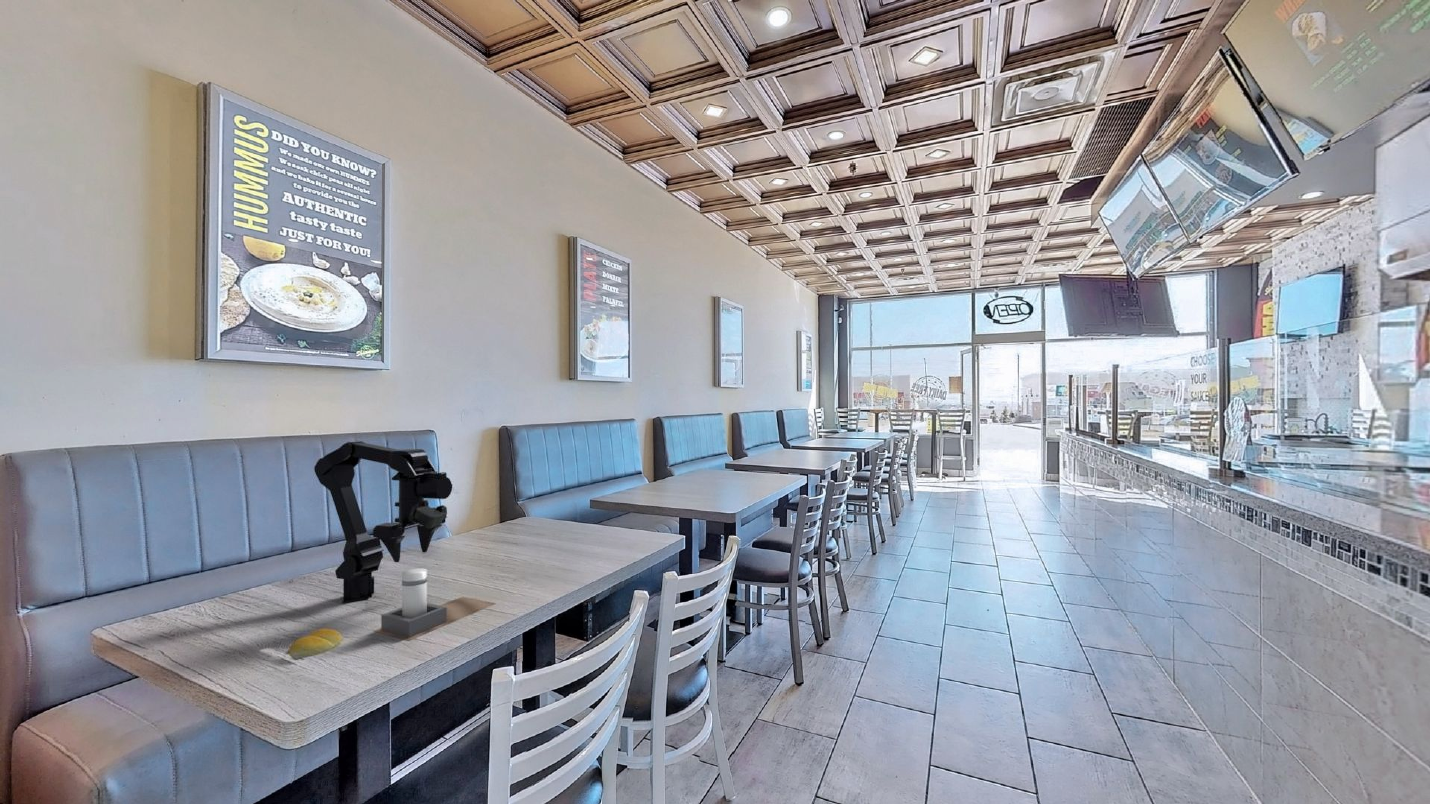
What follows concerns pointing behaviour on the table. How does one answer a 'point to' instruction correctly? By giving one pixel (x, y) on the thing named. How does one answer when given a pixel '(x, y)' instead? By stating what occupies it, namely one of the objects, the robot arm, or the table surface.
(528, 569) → the table surface
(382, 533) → the robot arm
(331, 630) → the bread roll
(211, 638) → the table surface
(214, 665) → the table surface
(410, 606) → the white capped cylinder
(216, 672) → the table surface
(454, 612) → the board
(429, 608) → the socket collar
